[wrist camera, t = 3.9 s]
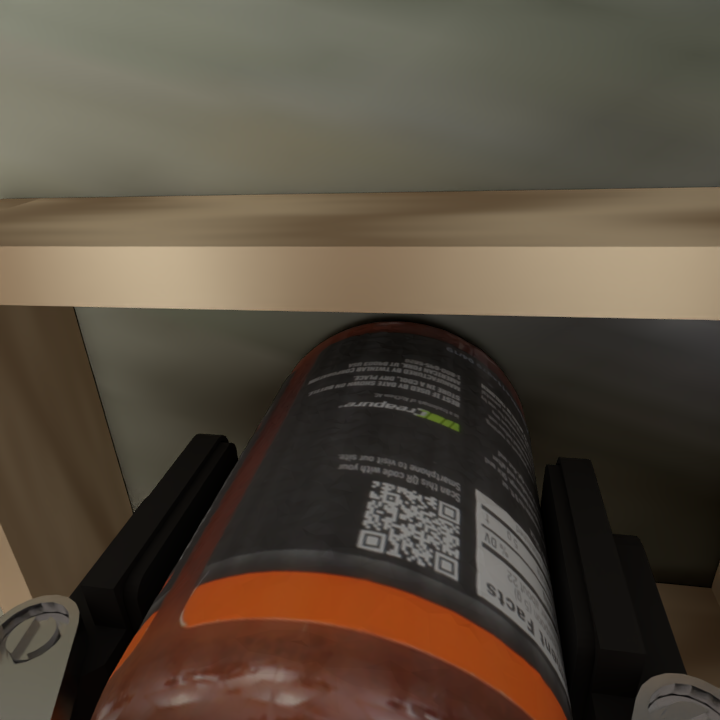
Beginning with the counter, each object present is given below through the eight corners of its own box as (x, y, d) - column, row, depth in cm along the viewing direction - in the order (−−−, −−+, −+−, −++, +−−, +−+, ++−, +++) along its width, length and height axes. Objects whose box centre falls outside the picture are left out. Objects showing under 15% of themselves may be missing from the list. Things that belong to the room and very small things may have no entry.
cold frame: (903, 184, 10) (1134, 246, 6) (744, 619, 15) (827, 789, 11) (3, 198, 13) (-168, 246, 10) (116, 553, 18) (30, 670, 15)
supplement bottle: (323, 526, 16) (69, 1273, 6) (252, 335, 14) (-351, 1044, 4) (545, 508, 14) (692, 1494, 4) (508, 287, 12) (640, 1335, 2)
